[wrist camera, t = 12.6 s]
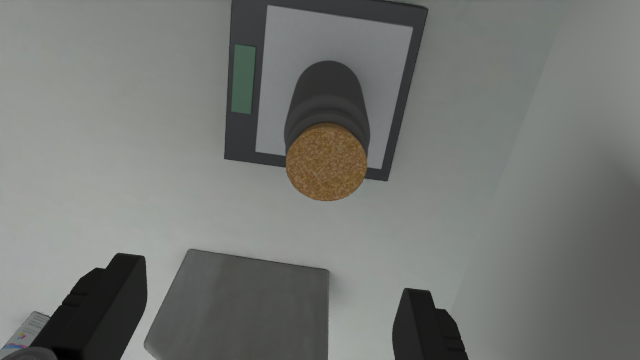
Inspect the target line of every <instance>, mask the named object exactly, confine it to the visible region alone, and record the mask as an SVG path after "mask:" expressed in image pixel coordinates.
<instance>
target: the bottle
mask: <svg viewBox="0 0 640 360" xmlns="http://www.w3.org/2000/svg"><path fill="white" fill-rule="evenodd" d="M284 142H285V146H286V147H285V155H286V171H287V174H288V177H289V179H290V181H291V183H292V184H293V186H294V187H295V188H296V189H297V190H298V191H299V192H301V193H302V194H304V195H305V196H307V197H309V198H312V199H315V200H320V201H333V200H338V199H342V198H344V197H346V196H348V195H350V194H351V193H353V192H354V191H355V190H356V189H357V188H358V187H359V186H360V184H361V183H362V181H363V179H364V177H365V175H366V171H367V158H368V147H369V143H370V125H369V121H368V116H367V112H366V107H365V102H364V98H363V94H362V89H361V86H360V83H359V80H358V78H357V76H356V75H355V74H354V72H353V71H352V70H351V69H350V68H349V67H347V66H346V65H344V64H342V63H339V62H336V61H321V62H317V63H314V64H312V65H311V66H309V67H308V68H307V69H305V70H304V72H303V73H302V74H301V75H300V77H299V79H298V81H297V83H296V86H295V89H294V93H293V96H292V100H291V103H290V107H289V111H288V114H287V118H286V122H285V127H284Z"/></svg>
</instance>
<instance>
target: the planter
mask: <svg viewBox="0 0 640 360" xmlns="http://www.w3.org/2000/svg"><path fill="white" fill-rule="evenodd" d="M328 304H329V272H328V271H327V270H323V269H315V268H308V267H302V266H295V265H289V264H282V263H276V262H269V261H263V260H256V259H250V258H243V257H236V256H230V255H223V254H217V253H210V252H203V251H198V250H188V251H187V253H186V255H185V257H184V260H183V262H182V264H181V266H180V268H179V270H178V272H177V274H176V276H175V278H174V280H173V282H172V284H171V286H170V288H169V290H168V292H167V294H166V297H165V299H164V301H163V303H162V305H161V307H160V309H159V311H158V313H157V315H156V317H155V319H154V321H153V323H152V325H151V327H150V330H149V332H148V334H147V336H146V339H145V341H144V348H145V350H147V351H148V352H149V353H150V354H151V355H152V356H153V357H154V358H155V359H157V360H328Z"/></svg>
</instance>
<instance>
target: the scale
mask: <svg viewBox="0 0 640 360" xmlns="http://www.w3.org/2000/svg"><path fill="white" fill-rule="evenodd" d="M427 13H428V9H427V8H425V7H423V6H418V5H412V4H405V3H399V2H392V1H386V0H232V5H231V26H230V47H229V68H228V90H227V111H226V132H225V153H224V159H228V160H235V161H243V162H250V163H257V164H264V165H272V166H279V167H286V155H285V147H286V146H285V142H284V127H285V122H286V118H287V114H288V111H289V107H290V103H291V100H292V96H293V93H294V89H295V86H296V83H297V81H298V79H299V77H300V75H301V74H302V73H303V72H304V70H305V69H307V68H308V67H309V66H311V65H312V64H314V63H317V62H321V61H336V62H339V63H342V64H344V65H346V66H347V67H349V68H350V69H351V70H352V71H353V72H354V74H355V75H356V76H357V78H358V80H359V83H360V86H361V89H362V94H363V98H364V102H365V107H366V112H367V116H368V121H369V125H370V143H369V147H368V158H367V171H366V175H365V177H364V178H366V179H373V180H381V181H388V177H389V173H390V168H391V164H392V160H393V156H394V152H395V147H396V143H397V139H398V135H399V131H400V126H401V122H402V118H403V114H404V110H405V105H406V101H407V97H408V93H409V89H410V84H411V80H412V76H413V72H414V68H415V63H416V59H417V55H418V51H419V47H420V42H421V38H422V34H423V30H424V26H425V21H426V17H427Z"/></svg>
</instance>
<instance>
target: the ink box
mask: <svg viewBox="0 0 640 360" xmlns="http://www.w3.org/2000/svg"><path fill="white" fill-rule="evenodd" d="M49 319H50V318H49V317H47V316H44V315H42V314H39V313H37V312H33V313H32V314H31V315H30V316H29V318H28V319H27V320H26V321H25V322H24V323H23V324H22V326H21V327H20V328H19V329H18V330H17V332H16V333H15V334H14V335H13V336H12V337H11V338H10V340H9V341H8V342H7V343H6V344H5V345H4V347H3V348H2V349H1V350H0V360H1V359H3V358H4V357H6V356H7V355H9V354H11V353H13V352H15V351H18V350H20V349H24V348H28V347H29V345H30V344H31V343H32V342H33V340H34V339H35V338H36V336H37V335H38V334H39V332H40V331H41V330H42V328H43V327H44V326H45V324H46V323H47V322H48V320H49Z"/></svg>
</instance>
